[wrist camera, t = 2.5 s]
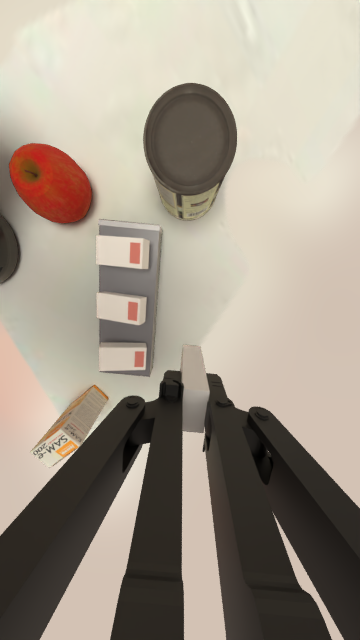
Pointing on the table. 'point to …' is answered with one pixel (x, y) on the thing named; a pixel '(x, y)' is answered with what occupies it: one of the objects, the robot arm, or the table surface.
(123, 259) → the block
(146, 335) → the rocker switch panel
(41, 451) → the supplement box
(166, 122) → the coffee can
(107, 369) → the rocker
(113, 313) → the rocker
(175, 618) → the robot arm
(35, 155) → the apple
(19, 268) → the table surface
